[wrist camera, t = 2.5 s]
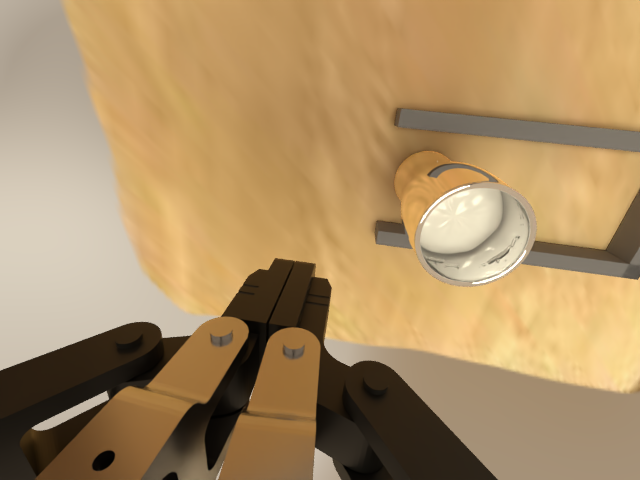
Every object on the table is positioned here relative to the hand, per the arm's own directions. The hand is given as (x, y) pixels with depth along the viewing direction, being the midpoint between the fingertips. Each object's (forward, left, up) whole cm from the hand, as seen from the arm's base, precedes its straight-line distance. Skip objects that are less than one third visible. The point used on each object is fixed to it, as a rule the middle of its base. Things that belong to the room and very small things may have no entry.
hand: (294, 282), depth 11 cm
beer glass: (0, +9, -22) cm, 24 cm away
